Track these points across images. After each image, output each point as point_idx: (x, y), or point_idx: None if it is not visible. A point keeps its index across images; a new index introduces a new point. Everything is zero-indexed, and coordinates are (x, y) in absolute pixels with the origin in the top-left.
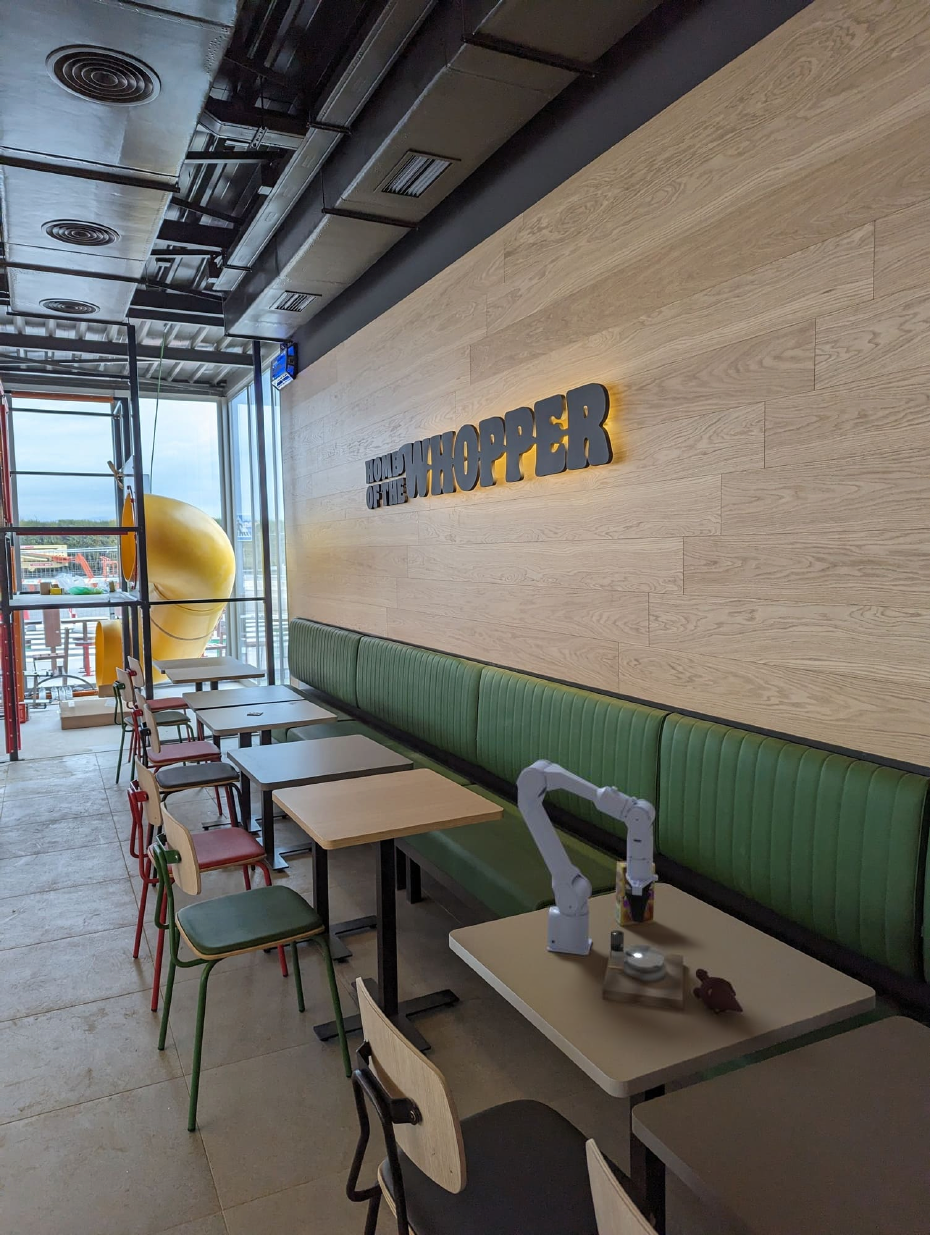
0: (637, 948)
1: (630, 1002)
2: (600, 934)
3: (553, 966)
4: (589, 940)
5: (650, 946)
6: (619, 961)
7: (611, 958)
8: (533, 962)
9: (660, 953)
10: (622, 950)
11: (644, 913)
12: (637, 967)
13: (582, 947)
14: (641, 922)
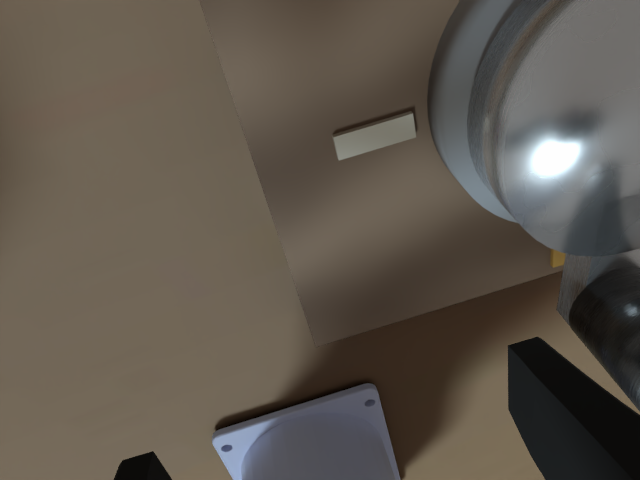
0: (573, 204)
1: None
2: (102, 436)
3: (512, 420)
4: (234, 438)
5: (508, 133)
6: (477, 248)
7: (456, 292)
8: (504, 470)
9: (628, 4)
10: (636, 270)
11: (627, 409)
12: None
13: (356, 427)
14: (541, 342)
